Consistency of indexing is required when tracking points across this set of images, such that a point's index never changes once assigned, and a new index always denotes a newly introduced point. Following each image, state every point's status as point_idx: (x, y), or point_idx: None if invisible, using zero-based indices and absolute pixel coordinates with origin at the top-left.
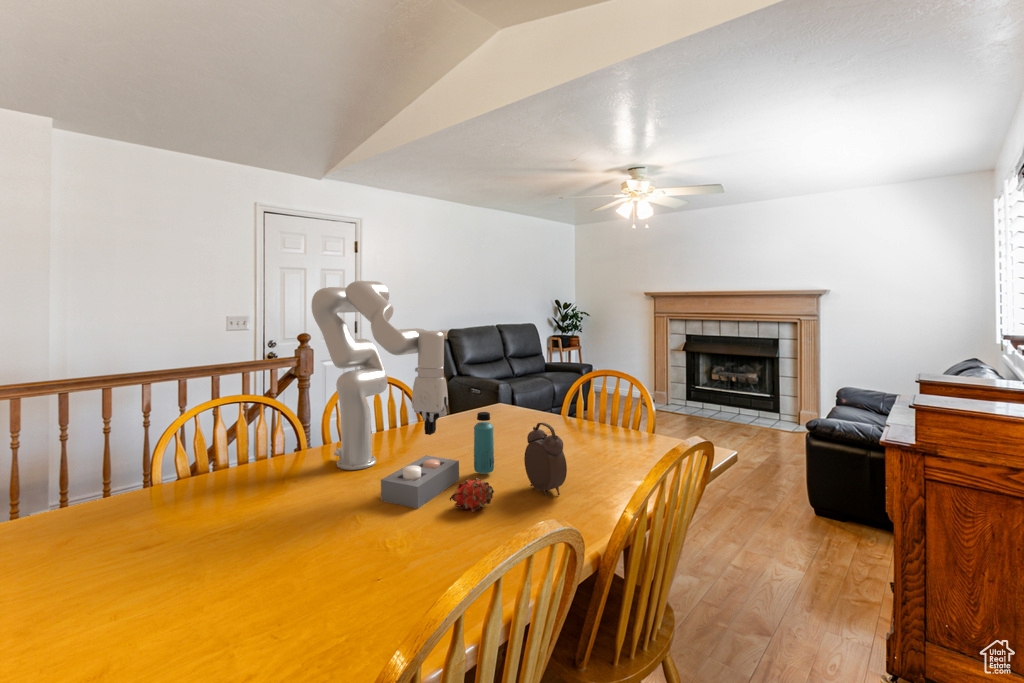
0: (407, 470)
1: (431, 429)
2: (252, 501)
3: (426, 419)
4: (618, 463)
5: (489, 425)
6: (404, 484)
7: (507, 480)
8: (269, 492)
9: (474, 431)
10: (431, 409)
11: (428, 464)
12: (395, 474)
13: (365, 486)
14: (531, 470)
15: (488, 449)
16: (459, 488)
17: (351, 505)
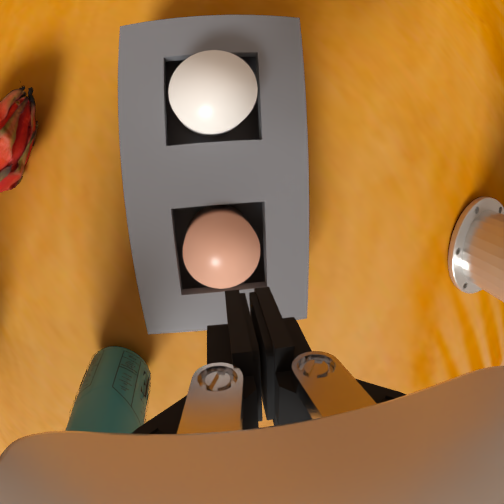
0: (217, 61)
1: (221, 329)
2: (486, 8)
3: (291, 374)
4: None
5: None
6: (183, 18)
7: (51, 350)
8: (498, 45)
9: None
10: (137, 478)
11: (215, 221)
12: (285, 76)
13: (390, 117)
14: None
15: (73, 407)
16: (2, 119)
17: (331, 2)
